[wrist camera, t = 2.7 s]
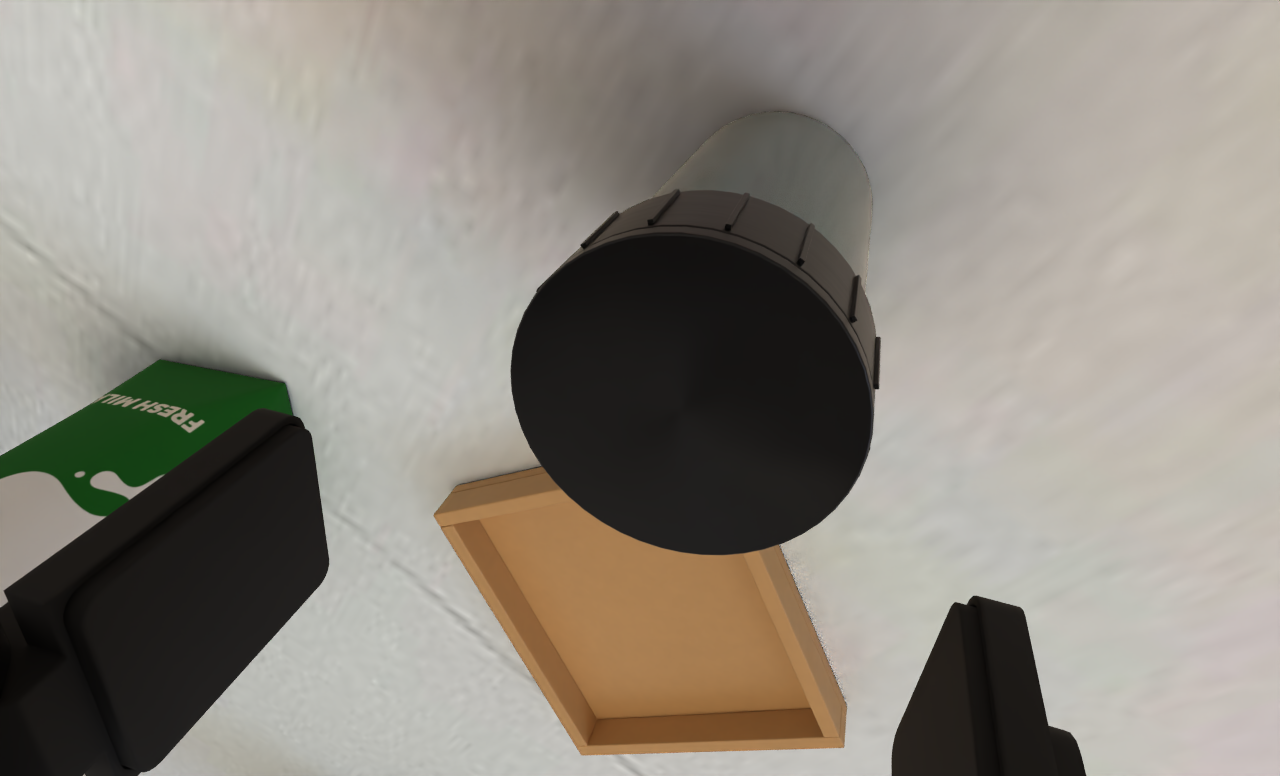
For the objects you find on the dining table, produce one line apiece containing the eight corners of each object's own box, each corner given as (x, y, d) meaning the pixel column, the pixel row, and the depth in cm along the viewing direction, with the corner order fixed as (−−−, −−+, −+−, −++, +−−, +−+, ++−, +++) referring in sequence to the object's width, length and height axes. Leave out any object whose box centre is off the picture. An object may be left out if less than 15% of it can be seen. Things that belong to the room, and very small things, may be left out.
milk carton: (299, 367, 34) (-265, 768, 18) (334, 525, 39) (-88, 960, 22) (138, 338, 36) (-507, 673, 20) (189, 490, 41) (-298, 867, 24)
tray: (456, 485, 35) (432, 515, 33) (728, 424, 29) (717, 456, 28) (595, 719, 41) (581, 755, 39) (847, 706, 35) (844, 748, 33)
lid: (507, 250, 17) (447, 298, 14) (817, 134, 14) (801, 171, 12) (632, 502, 19) (598, 576, 17) (917, 449, 16) (921, 530, 14)
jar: (651, 153, 25) (481, 299, 15) (838, 78, 23) (790, 191, 12) (718, 320, 27) (612, 547, 17) (896, 269, 25) (896, 501, 14)
